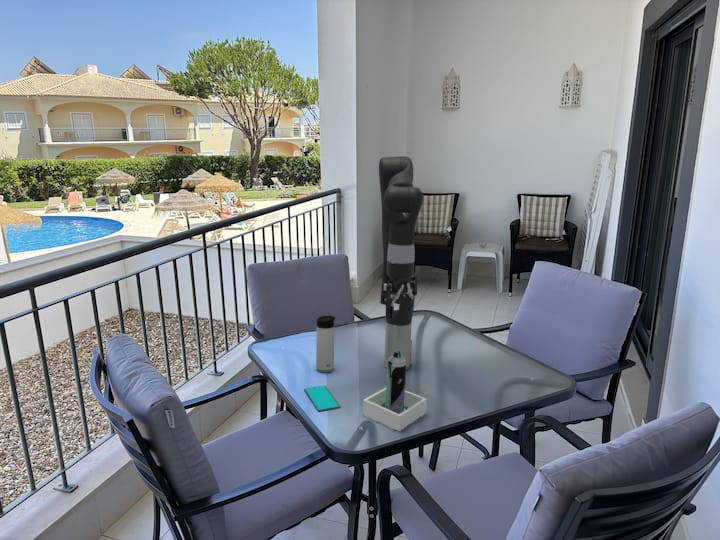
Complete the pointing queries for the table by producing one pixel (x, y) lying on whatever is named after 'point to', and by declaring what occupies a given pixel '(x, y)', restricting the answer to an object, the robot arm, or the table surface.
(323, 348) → the travel mug
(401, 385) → the spray can
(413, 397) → the white square tray
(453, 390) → the table surface
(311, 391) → the smartphone
